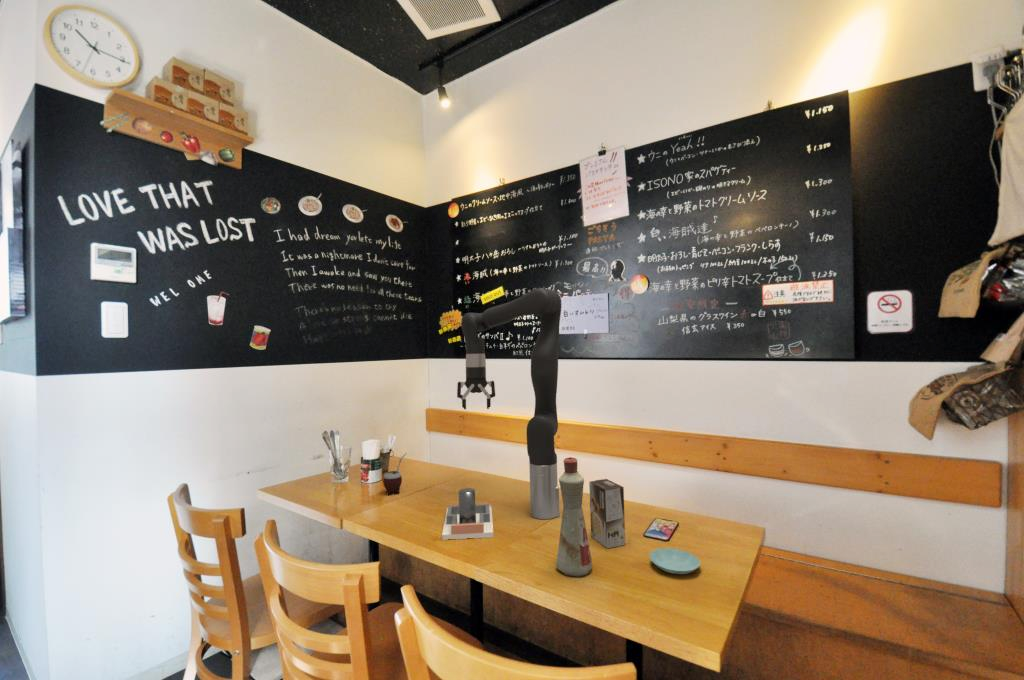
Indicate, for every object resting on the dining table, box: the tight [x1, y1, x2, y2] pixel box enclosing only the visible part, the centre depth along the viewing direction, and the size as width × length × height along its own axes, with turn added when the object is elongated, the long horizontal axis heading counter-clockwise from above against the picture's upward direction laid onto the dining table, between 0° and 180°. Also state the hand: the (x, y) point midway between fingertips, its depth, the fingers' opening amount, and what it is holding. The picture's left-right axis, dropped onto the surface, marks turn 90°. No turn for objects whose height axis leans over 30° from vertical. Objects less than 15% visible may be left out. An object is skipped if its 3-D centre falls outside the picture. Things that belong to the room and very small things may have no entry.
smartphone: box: [642, 517, 680, 542], centre depth 133 cm, size 7×1×15 cm
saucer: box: [649, 547, 701, 575], centre depth 110 cm, size 12×12×2 cm
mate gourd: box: [382, 452, 407, 496], centre depth 173 cm, size 8×8×15 cm
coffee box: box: [588, 478, 626, 549], centre depth 126 cm, size 9×6×16 cm
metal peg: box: [458, 487, 476, 524], centre depth 134 cm, size 5×5×11 cm
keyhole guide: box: [441, 503, 494, 541], centre depth 140 cm, size 15×22×4 cm
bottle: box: [555, 456, 593, 577], centre depth 111 cm, size 9×9×28 cm
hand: (476, 408), depth 166 cm, fingers open, 8 cm apart
